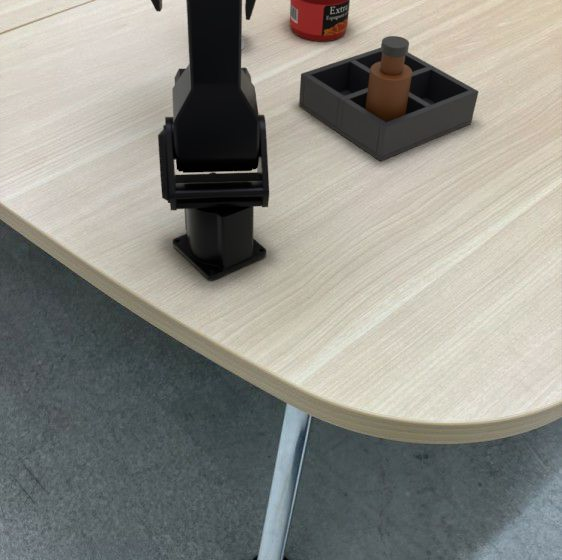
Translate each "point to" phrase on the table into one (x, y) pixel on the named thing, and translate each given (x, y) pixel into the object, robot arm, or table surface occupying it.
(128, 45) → the table surface
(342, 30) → the canned food
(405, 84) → the spice bottle
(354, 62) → the holder
